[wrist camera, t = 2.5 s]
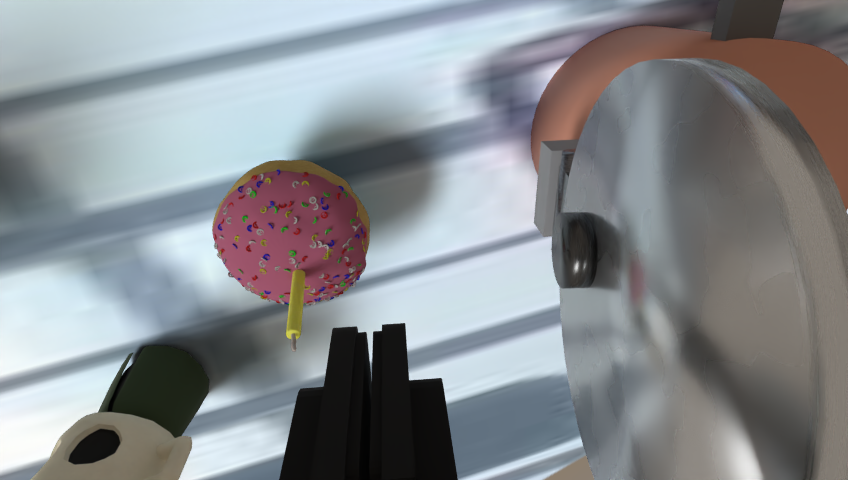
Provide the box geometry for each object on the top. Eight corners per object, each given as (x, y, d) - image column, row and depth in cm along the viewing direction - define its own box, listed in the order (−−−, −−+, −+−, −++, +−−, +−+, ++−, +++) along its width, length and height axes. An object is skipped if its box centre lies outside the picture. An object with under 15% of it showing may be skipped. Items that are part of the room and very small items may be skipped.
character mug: (201, 311, 34) (108, 475, 22) (258, 378, 37) (202, 552, 25) (76, 367, 35) (-74, 549, 24) (140, 426, 38) (36, 613, 27)
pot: (505, -31, 25) (575, -47, 16) (757, -38, 26) (962, -57, 17) (492, 261, 34) (533, 361, 24) (684, 249, 34) (794, 341, 25)
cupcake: (395, 226, 32) (402, 342, 21) (290, 283, 33) (247, 418, 23) (322, 114, 28) (286, 187, 17) (207, 183, 29) (109, 289, 19)
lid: (598, 32, 17) (548, 34, 17) (1102, 146, 4) (903, 151, 4) (560, 321, 23) (524, 321, 23) (726, 731, 10) (643, 731, 10)
